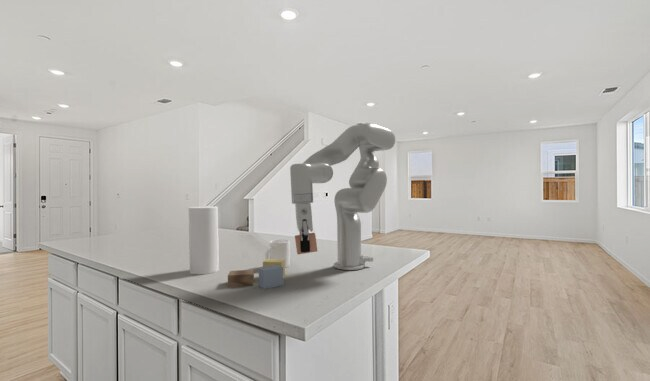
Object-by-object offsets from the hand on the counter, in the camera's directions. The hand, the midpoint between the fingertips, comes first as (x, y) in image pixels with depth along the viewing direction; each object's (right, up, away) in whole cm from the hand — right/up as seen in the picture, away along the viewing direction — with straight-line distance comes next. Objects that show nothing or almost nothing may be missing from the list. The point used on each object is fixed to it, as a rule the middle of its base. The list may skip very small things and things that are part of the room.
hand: (304, 249), depth 115 cm
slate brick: (-11, -10, -7) cm, 17 cm away
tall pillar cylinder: (-40, -11, +13) cm, 43 cm away
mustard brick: (-11, -10, +3) cm, 16 cm away
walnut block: (-21, -11, -5) cm, 24 cm away
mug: (-12, -10, +17) cm, 23 cm away
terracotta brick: (+1, -1, 0) cm, 1 cm away
